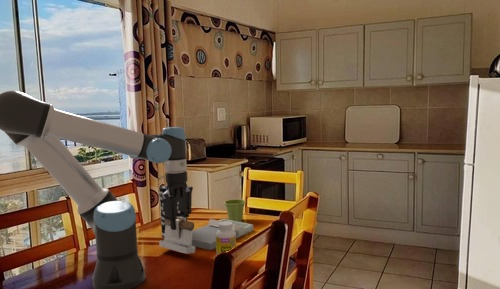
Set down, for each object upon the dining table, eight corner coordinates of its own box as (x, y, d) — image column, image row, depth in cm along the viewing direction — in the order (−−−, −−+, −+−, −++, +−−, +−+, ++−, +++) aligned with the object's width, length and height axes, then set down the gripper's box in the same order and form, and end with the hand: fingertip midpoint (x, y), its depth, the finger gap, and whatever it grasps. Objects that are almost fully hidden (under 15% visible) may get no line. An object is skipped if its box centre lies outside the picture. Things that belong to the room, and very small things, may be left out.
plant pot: (221, 219, 186) (220, 200, 185) (240, 216, 190) (240, 198, 189) (229, 225, 177) (228, 205, 176) (249, 221, 181) (248, 202, 180)
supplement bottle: (218, 265, 134) (217, 227, 133) (215, 258, 141) (213, 221, 139) (238, 262, 136) (237, 224, 135) (234, 255, 143) (232, 219, 141)
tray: (238, 237, 161) (237, 231, 161) (207, 230, 171) (207, 224, 170) (253, 230, 169) (253, 224, 169) (223, 224, 178) (223, 218, 178)
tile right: (233, 230, 160) (235, 224, 161) (222, 227, 164) (223, 221, 165) (242, 232, 165) (244, 226, 166) (231, 230, 169) (232, 224, 169)
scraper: (186, 253, 140) (189, 222, 141) (159, 246, 148) (161, 216, 149) (194, 252, 143) (197, 222, 144) (167, 245, 152) (170, 216, 152)
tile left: (219, 227, 165) (220, 221, 166) (208, 225, 169) (209, 218, 169) (228, 229, 170) (229, 223, 170) (217, 227, 173) (219, 221, 174)
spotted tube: (185, 232, 170) (182, 184, 167) (179, 239, 161) (177, 188, 159) (165, 232, 170) (162, 184, 168) (159, 239, 162) (156, 189, 160)
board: (210, 250, 148) (210, 243, 148) (179, 242, 158) (178, 235, 158) (238, 237, 161) (237, 231, 161) (207, 230, 171) (207, 224, 170)
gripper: (165, 176, 136) (170, 245, 138) (199, 168, 148) (203, 232, 151) (150, 174, 140) (155, 241, 143) (185, 167, 153) (188, 228, 156)
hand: (179, 236), depth 147 cm, fingers closed on scraper, 3 cm apart
